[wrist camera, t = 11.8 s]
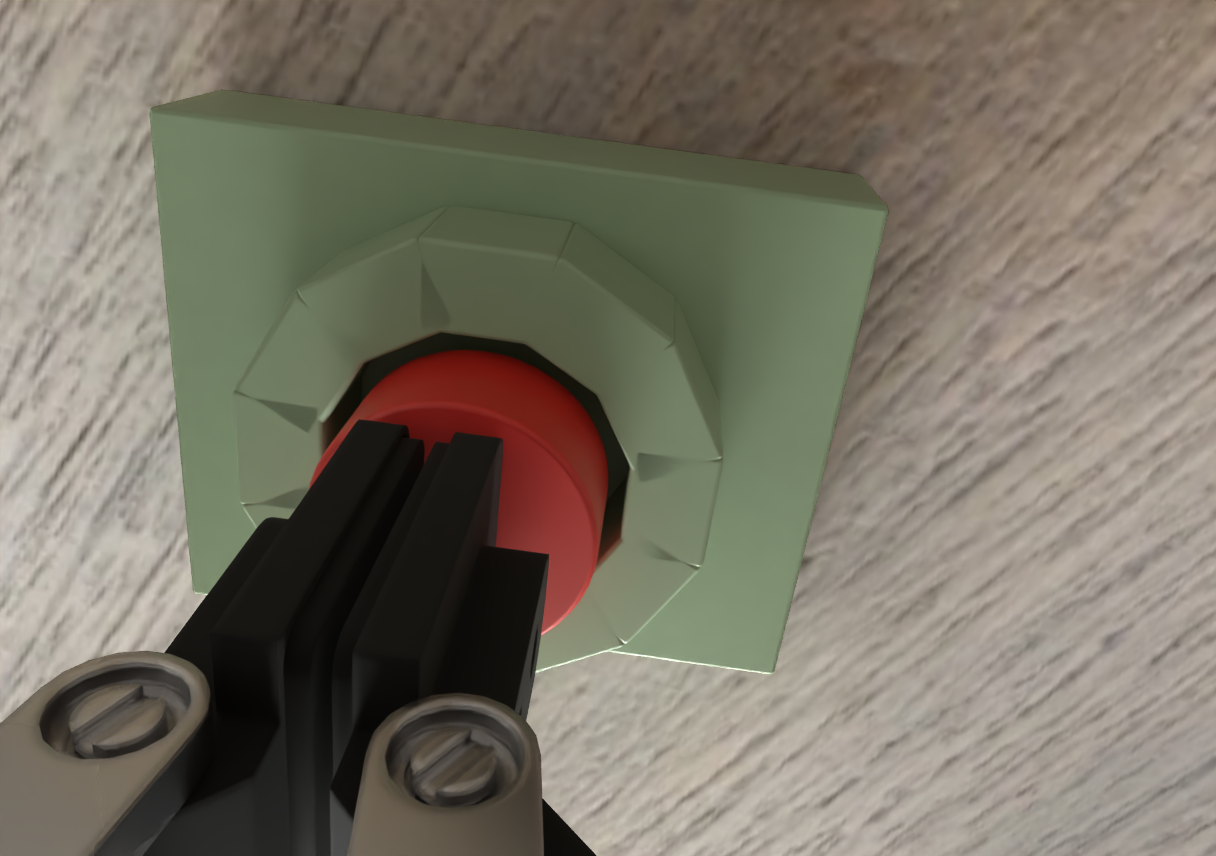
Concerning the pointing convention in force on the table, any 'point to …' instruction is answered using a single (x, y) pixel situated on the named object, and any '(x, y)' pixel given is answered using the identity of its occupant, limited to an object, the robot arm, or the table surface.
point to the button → (510, 454)
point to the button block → (522, 334)
